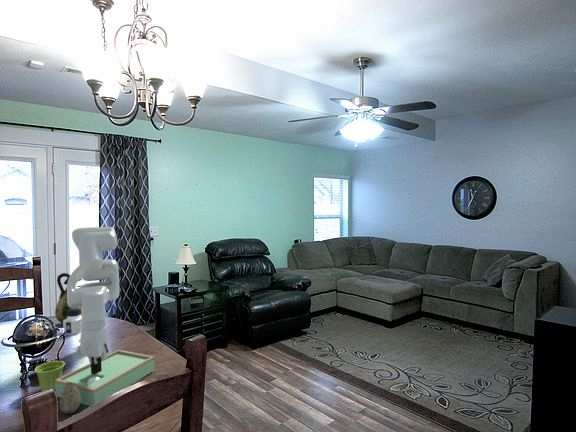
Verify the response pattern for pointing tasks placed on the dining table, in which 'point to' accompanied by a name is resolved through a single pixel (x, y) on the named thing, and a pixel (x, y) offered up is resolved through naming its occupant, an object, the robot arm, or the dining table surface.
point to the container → (73, 321)
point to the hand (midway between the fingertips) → (96, 372)
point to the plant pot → (49, 374)
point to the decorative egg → (70, 398)
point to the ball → (93, 379)
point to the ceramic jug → (62, 300)
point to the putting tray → (108, 376)
